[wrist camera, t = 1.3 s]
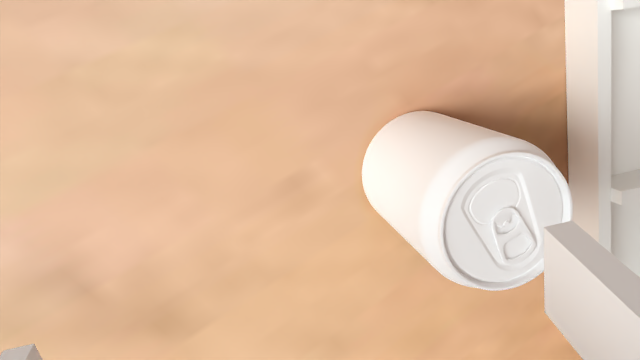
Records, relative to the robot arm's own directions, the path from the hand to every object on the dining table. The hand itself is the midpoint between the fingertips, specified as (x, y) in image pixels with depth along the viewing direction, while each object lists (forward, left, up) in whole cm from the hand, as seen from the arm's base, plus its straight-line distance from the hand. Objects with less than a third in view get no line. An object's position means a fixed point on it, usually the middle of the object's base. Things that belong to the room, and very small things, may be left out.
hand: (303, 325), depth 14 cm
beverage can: (-3, -12, -22) cm, 25 cm away
